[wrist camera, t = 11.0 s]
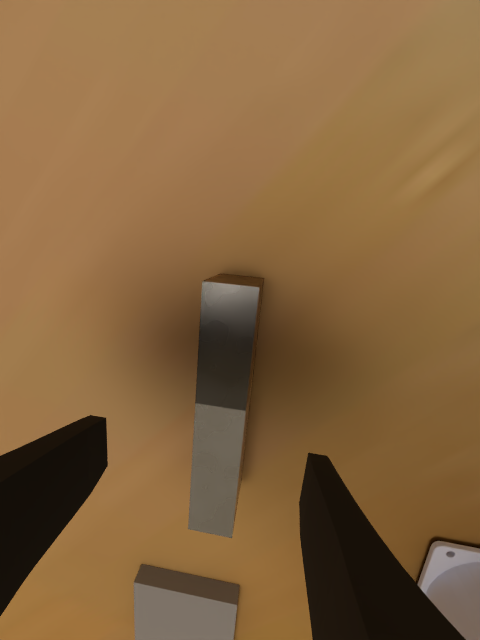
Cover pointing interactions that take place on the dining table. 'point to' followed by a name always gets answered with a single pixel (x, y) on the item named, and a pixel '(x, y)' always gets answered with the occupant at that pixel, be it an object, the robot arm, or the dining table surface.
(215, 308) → the tall grey pillar block
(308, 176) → the dining table surface
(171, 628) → the tile
